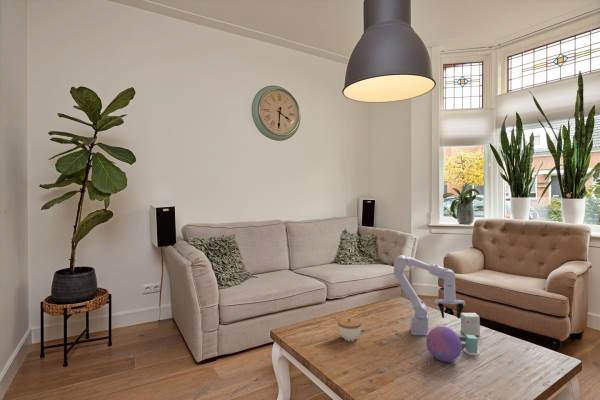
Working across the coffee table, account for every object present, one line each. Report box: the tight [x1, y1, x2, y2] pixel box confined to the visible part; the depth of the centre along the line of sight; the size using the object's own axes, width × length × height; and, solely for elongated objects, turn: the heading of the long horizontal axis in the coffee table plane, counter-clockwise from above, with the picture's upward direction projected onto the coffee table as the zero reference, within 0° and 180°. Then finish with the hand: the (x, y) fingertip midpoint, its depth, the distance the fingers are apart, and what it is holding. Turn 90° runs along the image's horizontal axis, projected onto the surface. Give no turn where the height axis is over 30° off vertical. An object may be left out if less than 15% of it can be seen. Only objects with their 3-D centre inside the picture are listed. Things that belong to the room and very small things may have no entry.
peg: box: [465, 335, 478, 353], centre depth 158 cm, size 4×4×7 cm
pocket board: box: [457, 334, 466, 349], centre depth 168 cm, size 18×10×2 cm, turn 79°
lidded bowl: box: [337, 316, 362, 341], centre depth 175 cm, size 13×13×11 cm
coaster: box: [463, 348, 480, 356], centre depth 158 cm, size 7×7×1 cm
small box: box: [460, 312, 481, 336], centre depth 178 cm, size 8×6×10 cm
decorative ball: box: [425, 326, 463, 363], centre depth 151 cm, size 15×15×15 cm
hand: (450, 317), depth 174 cm, fingers open, 7 cm apart
